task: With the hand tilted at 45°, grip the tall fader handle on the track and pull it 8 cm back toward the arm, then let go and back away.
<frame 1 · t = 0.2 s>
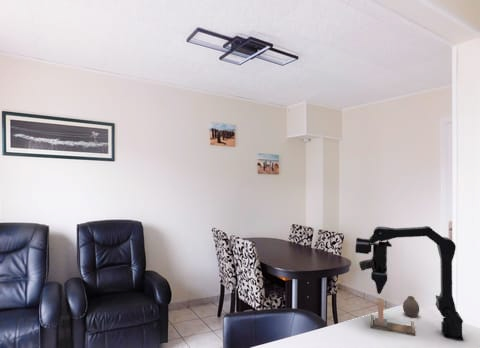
hand: (379, 290, 144), 15 cm above the table, tool pointing down, fingers open, 9 cm apart
fader track: (392, 328, 139), on the table
vase: (411, 315, 153), on the table
fader: (380, 311, 141), point 6 cm above the table, slide at 0.0 cm
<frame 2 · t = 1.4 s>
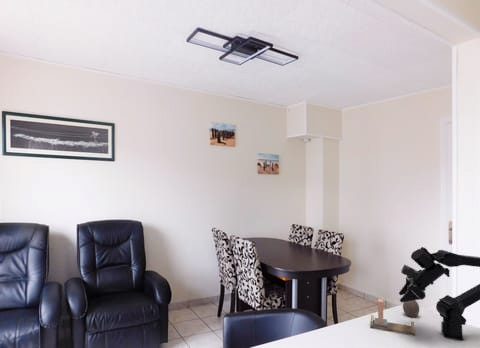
hand: (399, 297, 139), 14 cm above the table, tool tilted 45°, fingers open, 9 cm apart
nothing on the table moved.
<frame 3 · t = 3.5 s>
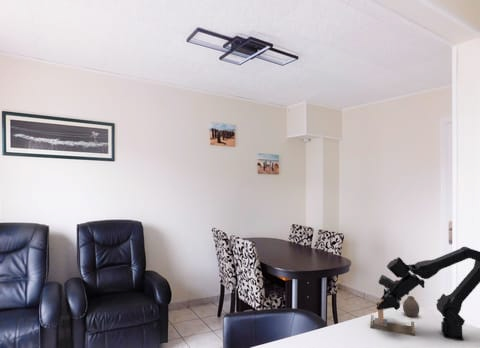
hand: (377, 307, 142), 8 cm above the table, tool tilted 45°, fingers closed on fader, 4 cm apart
fader: (380, 311, 141), point 6 cm above the table, slide at 0.0 cm, touching gripper
everything else where it was.
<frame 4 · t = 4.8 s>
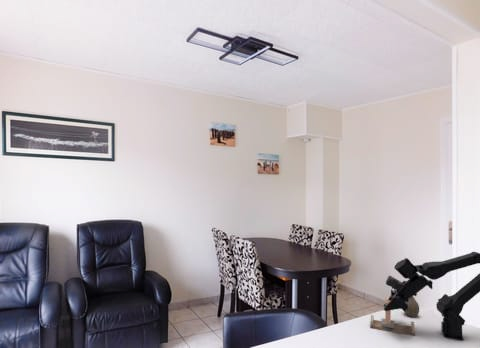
hand: (384, 308, 141), 8 cm above the table, tool tilted 45°, fingers closed on fader, 4 cm apart
fader: (387, 312, 140), point 6 cm above the table, slide at 2.9 cm, touching gripper
everything else where it was.
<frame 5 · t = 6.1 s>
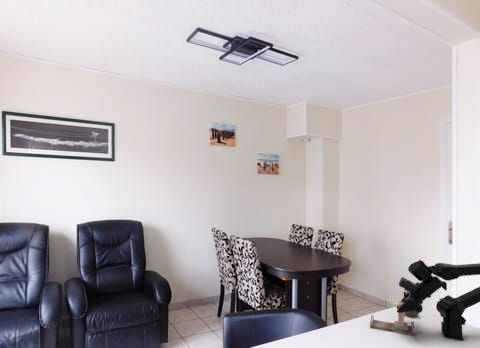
hand: (397, 310, 139), 8 cm above the table, tool tilted 45°, fingers closed on fader, 4 cm apart
fader: (401, 314, 138), point 6 cm above the table, slide at 8.0 cm, touching gripper
everything else where it was.
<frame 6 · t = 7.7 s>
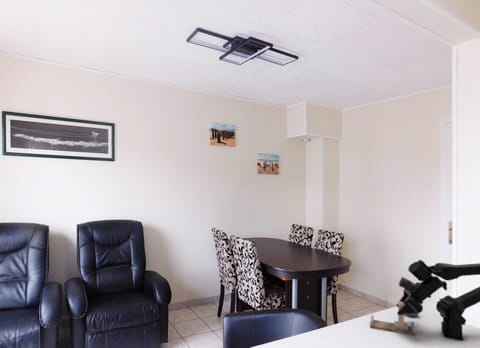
hand: (397, 310, 139), 8 cm above the table, tool tilted 45°, fingers open, 9 cm apart
fader: (401, 315, 138), point 6 cm above the table, slide at 8.0 cm
everything else where it was.
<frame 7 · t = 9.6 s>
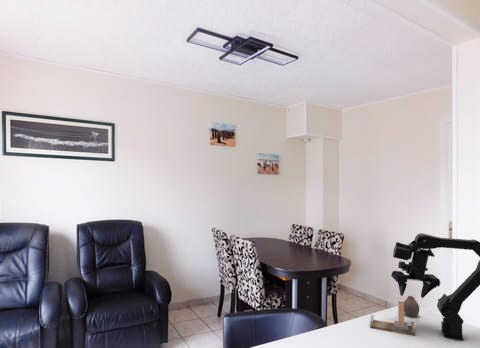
hand: (411, 296, 141), 13 cm above the table, tool pointing down, fingers open, 9 cm apart
nothing on the table moved.
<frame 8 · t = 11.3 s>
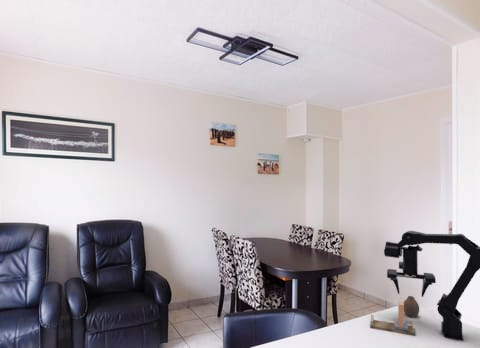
hand: (410, 295, 143), 13 cm above the table, tool pointing down, fingers open, 9 cm apart
nothing on the table moved.
at the end: fader slide at 8.0 cm; the gripper is holding nothing; vase moved 0.2 cm from its start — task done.
